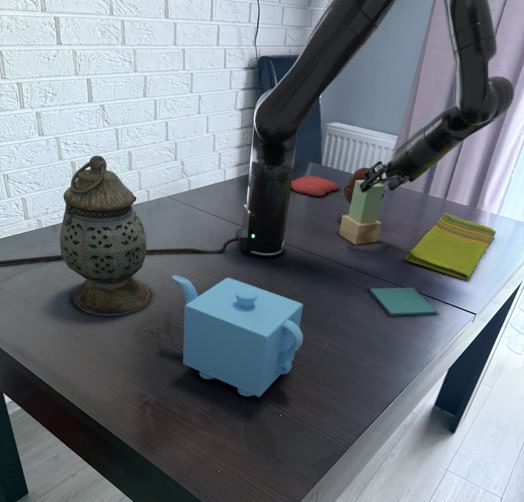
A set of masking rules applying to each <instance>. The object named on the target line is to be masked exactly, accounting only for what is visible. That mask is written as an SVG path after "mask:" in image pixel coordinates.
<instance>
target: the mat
mask: <svg viewBox="0 0 524 502" xmlns="http://www.w3.org/2000/svg"><path fill="white" fill-rule="evenodd" d="M369 292H370V293H371V294H372V296H373V297H374V298H375V299H376V301H377V302H378V303H379V304H380V305H381V306H382V308H383V309H384V310H385V311H386V313H387V314H388V315H389V316H390V317H398V316H401V317H402V316H425V315H427V316H428V315H437V310H436V309H435V308H434V307H433V306H432V305H431V304H430V303H429V302H428V301H427V300H426V299H425V298H424V297H423V296H422V295H421V294H420V292H418V291H417V290H416V289H415V288H414V287H386V288H385V287H382V288H381V287H380V288H379V287H377V288H370V289H369Z"/></svg>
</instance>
